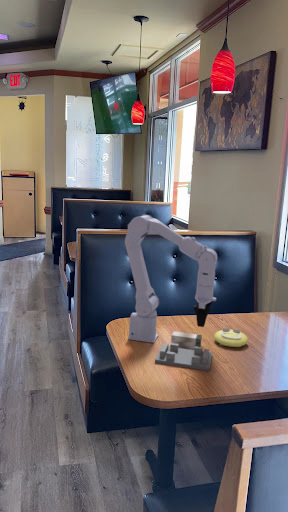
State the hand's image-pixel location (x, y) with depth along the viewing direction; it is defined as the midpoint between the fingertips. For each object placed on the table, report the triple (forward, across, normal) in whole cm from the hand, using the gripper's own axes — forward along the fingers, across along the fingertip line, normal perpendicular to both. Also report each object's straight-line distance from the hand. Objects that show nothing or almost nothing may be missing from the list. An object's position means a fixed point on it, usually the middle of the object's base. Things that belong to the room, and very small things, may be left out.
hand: (201, 322), depth 145 cm
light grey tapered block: (+9, -1, +5) cm, 10 cm away
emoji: (+9, +8, -10) cm, 16 cm away
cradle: (+9, -12, +4) cm, 15 cm away
